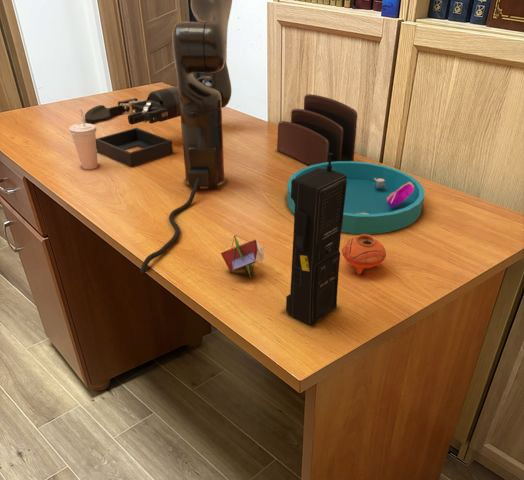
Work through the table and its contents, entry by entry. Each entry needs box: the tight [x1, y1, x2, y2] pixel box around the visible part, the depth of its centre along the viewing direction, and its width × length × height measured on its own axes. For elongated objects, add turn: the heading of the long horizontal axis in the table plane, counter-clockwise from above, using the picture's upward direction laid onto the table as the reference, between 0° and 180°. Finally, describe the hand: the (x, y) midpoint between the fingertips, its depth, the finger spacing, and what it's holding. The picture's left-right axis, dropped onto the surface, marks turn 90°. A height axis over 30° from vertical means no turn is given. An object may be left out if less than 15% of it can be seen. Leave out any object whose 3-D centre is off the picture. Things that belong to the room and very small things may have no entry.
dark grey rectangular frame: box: [96, 127, 174, 168], centre depth 142 cm, size 16×14×3 cm
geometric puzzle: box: [220, 234, 265, 278], centre depth 95 cm, size 7×7×8 cm
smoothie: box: [68, 107, 98, 170], centre depth 131 cm, size 6×6×14 cm
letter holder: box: [276, 93, 358, 166], centre depth 137 cm, size 10×20×14 cm, turn 37°
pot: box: [341, 234, 387, 275], centre depth 97 cm, size 8×8×7 cm
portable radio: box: [285, 153, 347, 326], centre depth 79 cm, size 8×6×25 cm
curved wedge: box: [84, 104, 113, 125], centre depth 166 cm, size 8×14×2 cm, turn 158°
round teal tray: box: [286, 160, 425, 235], centre depth 118 cm, size 30×30×6 cm
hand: (119, 116), depth 135 cm, fingers open, 8 cm apart
